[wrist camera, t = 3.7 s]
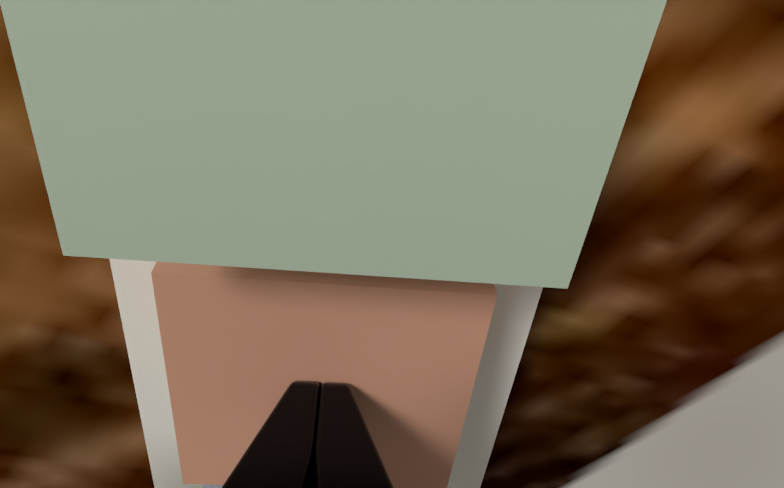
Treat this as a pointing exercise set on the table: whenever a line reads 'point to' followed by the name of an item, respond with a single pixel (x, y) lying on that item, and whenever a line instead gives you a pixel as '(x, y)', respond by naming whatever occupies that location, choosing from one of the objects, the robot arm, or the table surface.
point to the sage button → (331, 130)
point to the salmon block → (319, 359)
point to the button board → (154, 397)
